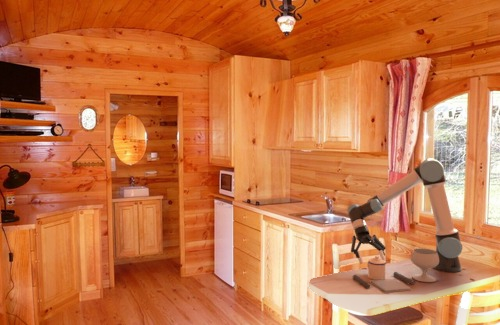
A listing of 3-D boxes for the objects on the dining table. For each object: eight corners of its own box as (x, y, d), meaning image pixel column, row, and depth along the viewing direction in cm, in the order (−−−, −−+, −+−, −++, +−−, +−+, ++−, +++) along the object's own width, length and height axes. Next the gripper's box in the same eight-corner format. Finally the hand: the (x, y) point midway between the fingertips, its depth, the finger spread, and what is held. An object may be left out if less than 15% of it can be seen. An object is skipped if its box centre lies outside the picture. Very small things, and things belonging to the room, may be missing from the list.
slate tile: (394, 280, 217) (394, 278, 217) (410, 290, 204) (410, 288, 204) (370, 282, 214) (370, 280, 214) (385, 292, 201) (385, 290, 201)
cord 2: (393, 276, 226) (393, 271, 225) (397, 275, 226) (397, 271, 226) (410, 285, 211) (410, 281, 211) (414, 285, 211) (414, 280, 211)
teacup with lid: (389, 279, 220) (389, 257, 219) (375, 281, 216) (375, 259, 216) (374, 272, 231) (375, 251, 230) (361, 274, 228) (361, 253, 227)
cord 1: (352, 279, 220) (352, 274, 220) (356, 278, 221) (357, 274, 221) (366, 289, 206) (366, 284, 205) (371, 288, 206) (371, 284, 206)
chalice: (406, 279, 220) (406, 251, 219) (415, 273, 231) (416, 246, 230) (433, 285, 211) (434, 256, 210) (442, 278, 221) (443, 251, 220)
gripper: (378, 231, 243) (391, 264, 229) (338, 233, 238) (349, 266, 224) (383, 224, 238) (396, 257, 224) (342, 226, 232) (354, 260, 219)
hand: (373, 262), depth 224 cm, fingers open, 13 cm apart
